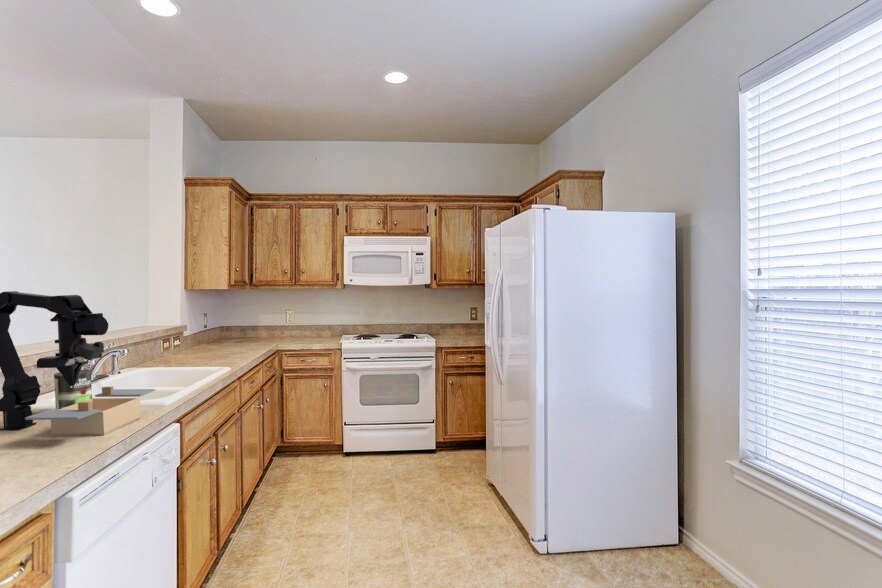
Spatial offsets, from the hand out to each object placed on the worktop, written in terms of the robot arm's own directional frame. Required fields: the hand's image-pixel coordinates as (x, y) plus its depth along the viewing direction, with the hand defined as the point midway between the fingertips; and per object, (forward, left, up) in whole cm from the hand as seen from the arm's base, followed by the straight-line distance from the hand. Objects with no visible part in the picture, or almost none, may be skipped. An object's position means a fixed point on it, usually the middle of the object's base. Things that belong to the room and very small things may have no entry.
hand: (72, 385), depth 149 cm
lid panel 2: (+8, +12, -6) cm, 16 cm away
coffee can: (-13, +16, -13) cm, 24 cm away
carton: (+8, 0, -13) cm, 15 cm away
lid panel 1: (+8, -13, -6) cm, 16 cm away
